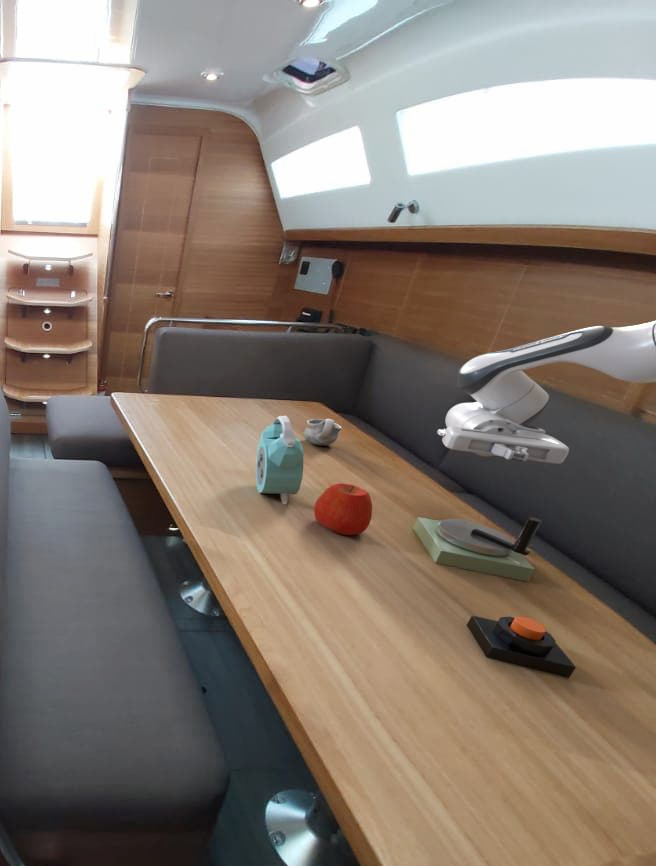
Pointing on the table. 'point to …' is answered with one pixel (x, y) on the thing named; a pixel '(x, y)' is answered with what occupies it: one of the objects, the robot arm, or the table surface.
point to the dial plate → (470, 555)
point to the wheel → (486, 537)
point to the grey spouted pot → (321, 431)
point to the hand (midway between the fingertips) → (518, 457)
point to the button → (528, 628)
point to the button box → (519, 646)
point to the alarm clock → (279, 460)
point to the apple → (344, 509)
